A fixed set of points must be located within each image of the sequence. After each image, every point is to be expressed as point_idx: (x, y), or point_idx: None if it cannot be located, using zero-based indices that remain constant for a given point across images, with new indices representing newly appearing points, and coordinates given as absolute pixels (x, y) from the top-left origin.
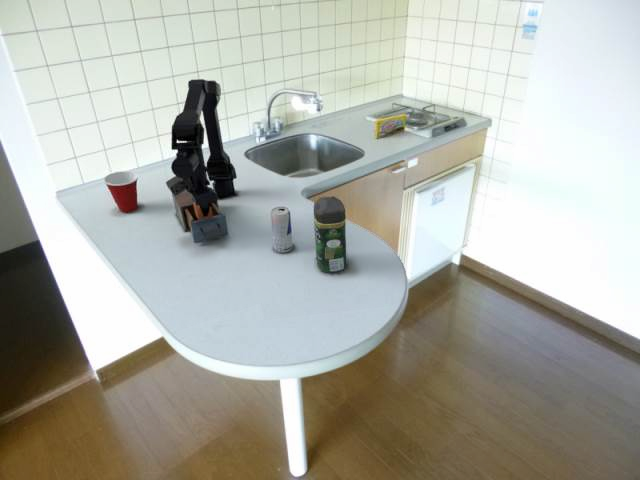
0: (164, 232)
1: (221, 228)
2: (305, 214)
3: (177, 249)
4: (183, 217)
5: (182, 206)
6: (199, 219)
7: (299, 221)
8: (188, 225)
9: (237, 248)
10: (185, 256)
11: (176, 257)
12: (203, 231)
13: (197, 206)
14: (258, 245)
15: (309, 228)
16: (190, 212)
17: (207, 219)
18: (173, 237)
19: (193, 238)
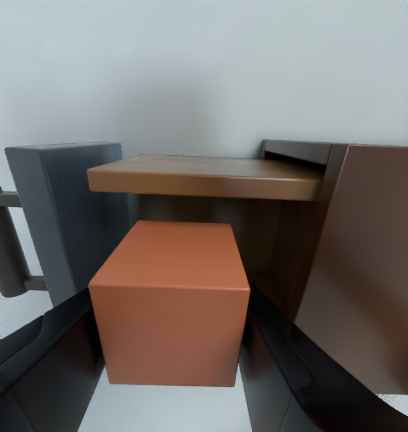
0: (330, 30)
1: (5, 290)
2: (154, 428)
3: (114, 49)
4: (291, 148)
5: (346, 171)
6: (135, 227)
7: (127, 412)
8: (259, 160)
9: (37, 266)
10: (32, 69)
11: (34, 18)
12: (15, 204)
13: (127, 301)
14: (37, 316)
15: (84, 415)
16: (311, 206)
17: (43, 273)
18: (245, 65)
19: (98, 142)
